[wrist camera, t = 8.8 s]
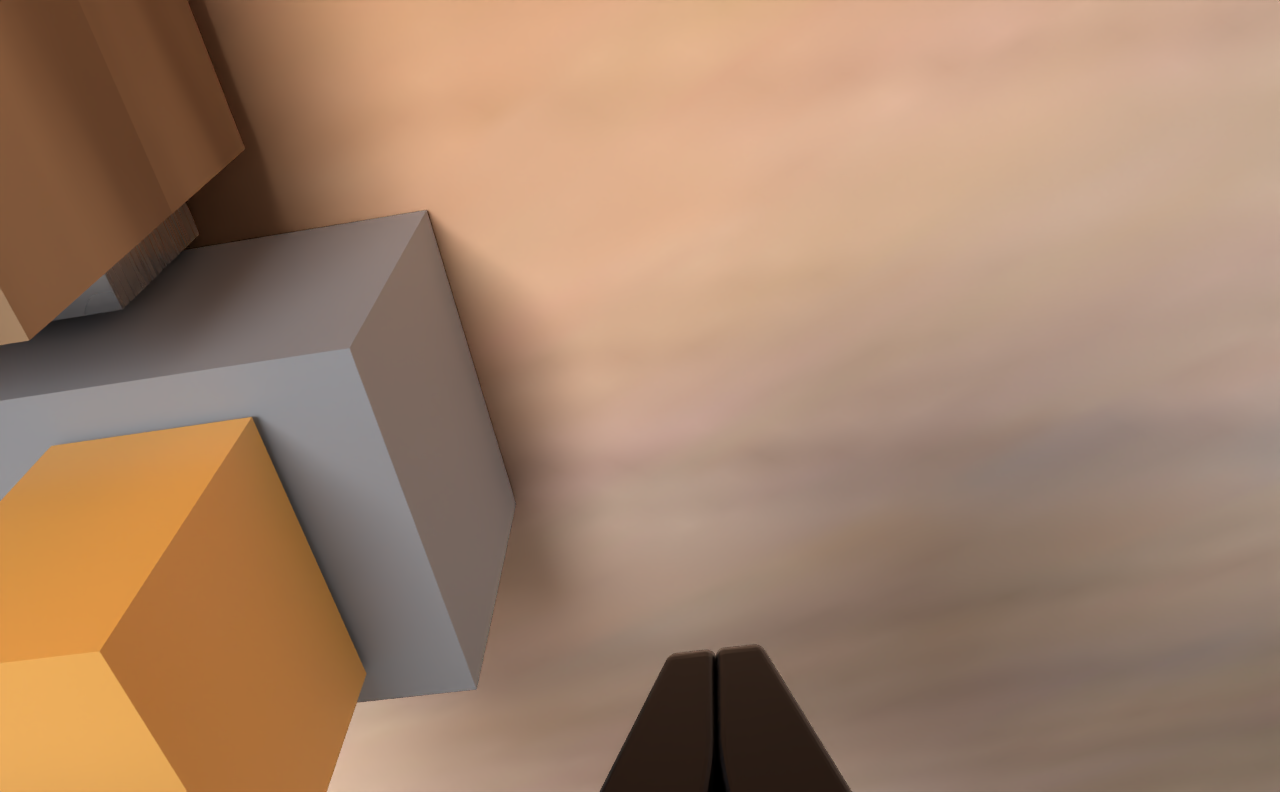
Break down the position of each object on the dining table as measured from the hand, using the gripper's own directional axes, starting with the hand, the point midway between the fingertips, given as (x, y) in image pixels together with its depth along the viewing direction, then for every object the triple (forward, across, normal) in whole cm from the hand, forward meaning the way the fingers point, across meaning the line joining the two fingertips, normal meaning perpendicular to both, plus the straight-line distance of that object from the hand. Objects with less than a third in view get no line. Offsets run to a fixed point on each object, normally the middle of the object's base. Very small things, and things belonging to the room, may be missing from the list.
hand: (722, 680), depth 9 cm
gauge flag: (+3, +6, 0) cm, 7 cm away
